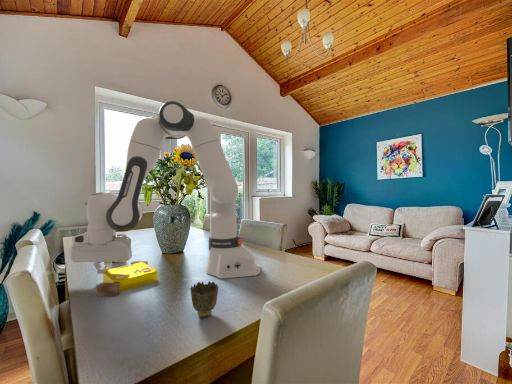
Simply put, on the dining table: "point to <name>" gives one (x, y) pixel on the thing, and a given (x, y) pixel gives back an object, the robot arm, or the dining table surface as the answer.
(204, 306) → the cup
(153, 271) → the element tile
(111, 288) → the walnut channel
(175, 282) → the dining table surface
